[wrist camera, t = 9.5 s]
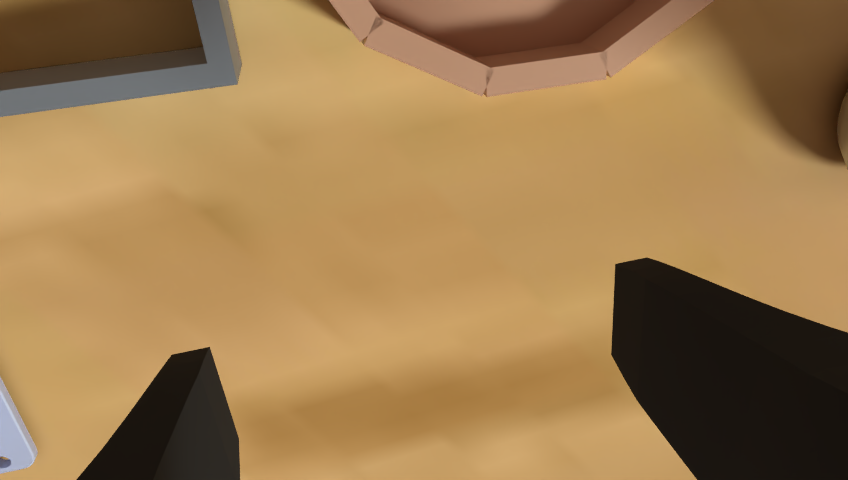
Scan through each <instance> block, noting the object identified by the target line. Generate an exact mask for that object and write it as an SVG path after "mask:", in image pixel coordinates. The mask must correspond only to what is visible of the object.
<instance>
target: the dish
mask: <svg viewBox="0 0 848 480" xmlns="http://www.w3.org/2000/svg"><path fill="white" fill-rule="evenodd" d="M329 1H330V3H331V4H332V5H333V7H334V8H335V9H336V11H337V12H338V13H339V15H340V16H341V17H342V19H343V20H344V21H345V23H346V24H347V25H348V27H349V28H350V30H351V31H352V32H353V34H354V35H355V36H356V38H357V39H358V40H359V42H362V43H363V44H364V46H366V47H369V48H371V49H373V50H376V51H378V52H380V53H383V54H385V55H387V56H390V57H392V58H394V59H397V60H399V61H401V62H404V63H406V64H408V65H411V66H413V67H415V68H418V69H420V70H422V71H424V72H427V73H429V74H431V75H434V76H436V77H438V78H441V79H443V80H445V81H448V82H450V83H452V84H455V85H457V86H459V87H462V88H464V89H466V90H469V91H471V92H473V93H476V94H478V95H480V96H482V95H483V94H484V95H485V96H486V97H490V96H496V95H503V94H510V93H517V92H523V91H530V90H537V89H544V88H550V87H557V86H564V85H571V84H578V83H584V82H591V81H598V80H605V79H606V75H607V76H609V77H612V76H613V75H615V74H616V73H617V72H619V71H620V70H621V69H623V68H624V67H625V66H627V65H628V64H629V63H631V62H632V61H633V60H635V59H636V58H637V57H639V56H640V55H641V54H643V53H644V52H646V51H647V50H648V49H650V48H651V47H652V46H654V45H655V44H656V43H658V42H659V41H660V40H662V39H663V38H664V37H666V36H667V35H668V34H670V33H671V32H672V31H674V30H675V29H676V28H678V27H679V26H680V25H682V24H683V23H685V22H686V21H687V20H689V19H690V18H691V17H693V16H694V15H695V14H697V13H698V12H699V11H701V10H702V9H703V8H705V7H706V6H707V5H709V4H710V3H711V2H713V1H714V0H329Z"/></svg>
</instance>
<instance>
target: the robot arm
mask: <svg viewBox="0 0 848 480" xmlns="http://www.w3.org/2000/svg"><path fill="white" fill-rule="evenodd" d="M611 355H612V357H613V358H614V360H615V362H616V364H617V366H618V368H619V370H620V371H621V373H622V375H623V377H624V379H625V381H626V382H627V384H628V386H629V387H630V389H631V391H632V393H633V394H634V396H635V398H636V399H637V401H638V402H639V404H640V405H641V406H642V408H643V409H644V410H645V412H646V413H647V414H648V416H649V417H650V418H651V420H652V421H653V422H654V424H655V425H656V426H657V428H658V429H659V430H660V432H661V433H662V434H663V436H664V437H665V438H666V440H667V441H668V442H669V443H670V445H671V446H672V447H673V449H674V450H675V451H676V453H677V454H678V455H679V456H680V458H681V459H682V460H683V462H684V463H685V464H686V466H687V467H688V468H689V469H690V471H691V472H692V473H693V475H694V476H695V477H696V479H697V480H848V333H847V332H844V331H841V330H838V329H834V328H831V327H828V326H825V325H822V324H820V323H817V322H814V321H811V320H808V319H805V318H802V317H800V316H797V315H794V314H791V313H788V312H785V311H783V310H780V309H777V308H775V307H772V306H770V305H767V304H764V303H762V302H759V301H757V300H754V299H751V298H749V297H746V296H744V295H741V294H739V293H737V292H734V291H732V290H729V289H727V288H724V287H722V286H719V285H717V284H714V283H712V282H710V281H707V280H705V279H702V278H700V277H697V276H695V275H693V274H690V273H688V272H685V271H683V270H680V269H678V268H675V267H673V266H670V265H667V264H665V263H662V262H659V261H656V260H653V259H650V258H643V259H638V260H633V261H628V262H623V263H618V264H615V286H614V309H613V331H612V353H611ZM37 453H38V452H37V448H36V446H35V444H34V442H33V440H32V438H31V436H30V434H29V432H28V430H27V428H26V426H25V424H24V422H23V420H22V418H21V416H20V414H19V412H18V410H17V408H16V407H15V405H14V403H13V401H12V399H11V397H10V395H9V393H8V391H7V389H6V387H5V385H4V383H3V381H2V379H1V377H0V457H7V458H9V459H8V460H5V459H2V458H0V474H1V473H5V472H10V471H15V470H20V469H24V468H27V467H30V466H31V465H32V464H33V463H34V461H35V458H36V456H37ZM77 480H240V461H239V438H238V435H237V432H236V428H235V425H234V422H233V419H232V416H231V413H230V410H229V406H228V403H227V400H226V397H225V394H224V391H223V388H222V384H221V381H220V378H219V375H218V372H217V369H216V366H215V362H214V359H213V356H212V353H211V350H210V347H208V348H203V349H198V350H193V351H188V352H183V353H178V354H173V355H171V357H170V358H169V359H168V361H167V362H166V363H165V365H164V366H163V367H162V369H161V370H160V371H159V373H158V374H157V376H156V377H155V378H154V380H153V381H152V382H151V384H150V385H149V387H148V388H147V389H146V391H145V392H144V394H143V395H142V396H141V398H140V399H139V400H138V402H137V403H136V405H135V406H134V407H133V409H132V410H131V411H130V413H129V414H128V416H127V417H126V418H125V420H124V421H123V422H122V424H121V425H120V426H119V427H118V429H117V430H116V431H115V433H114V434H113V435H112V437H111V438H110V439H109V441H108V442H107V443H106V445H105V446H104V447H103V449H102V450H101V451H100V452H99V453H98V455H97V456H96V457H95V458H94V459H93V461H92V462H91V463H90V464H89V465H88V467H87V468H86V469H85V470H84V471H83V473H82V474H81V475H80V476H79V477H78V479H77Z"/></svg>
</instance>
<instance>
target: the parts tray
mask: <svg viewBox="0 0 848 480" xmlns="http://www.w3.org/2000/svg"><path fill="white" fill-rule="evenodd" d="M192 3H193V7H194V11H195V15H196V19H197V23H198V28H199V32H200V36H201V40H202V44H203V47H199V48H191V49H183V50H175V51H168V52H160V53H152V54H144V55H137V56H129V57H121V58H113V59H105V60H98V61H90V62H82V63H74V64H66V65H59V66H51V67H43V68H35V69H27V70H20V71H12V72H4V73H0V117H3V116H11V115H18V114H25V113H32V112H40V111H47V110H54V109H62V108H69V107H76V106H83V105H91V104H98V103H105V102H113V101H120V100H127V99H134V98H142V97H149V96H156V95H164V94H171V93H178V92H185V91H193V90H200V89H207V88H215V87H222V86H229V85H236V84H238V80H239V75H240V71H241V66H242V62H241V58H240V53H239V49H238V44H237V39H236V35H235V30H234V26H233V21H232V17H231V12H230V8H229V3H228V0H192Z"/></svg>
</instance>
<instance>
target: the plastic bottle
mask: <svg viewBox="0 0 848 480" xmlns="http://www.w3.org/2000/svg"><path fill="white" fill-rule="evenodd" d="M837 135H838V144H839V147H840V150H841V153H842V156H843V159H844V161H845V164H846V167H847V169H848V90H847V92H846V95H845V97H844V99H843V101H842V105H841V109H840V112H839V116H838V126H837Z"/></svg>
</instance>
